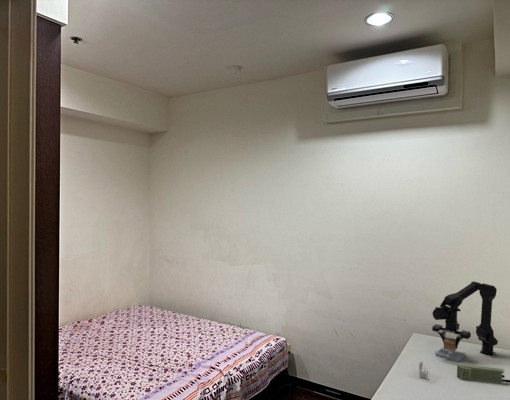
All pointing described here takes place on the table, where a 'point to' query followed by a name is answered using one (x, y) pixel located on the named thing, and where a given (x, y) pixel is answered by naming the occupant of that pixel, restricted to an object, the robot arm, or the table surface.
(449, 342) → the taped cardboard box
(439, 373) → the table surface
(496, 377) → the handheld radio
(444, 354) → the light switch plate
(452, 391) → the table surface
